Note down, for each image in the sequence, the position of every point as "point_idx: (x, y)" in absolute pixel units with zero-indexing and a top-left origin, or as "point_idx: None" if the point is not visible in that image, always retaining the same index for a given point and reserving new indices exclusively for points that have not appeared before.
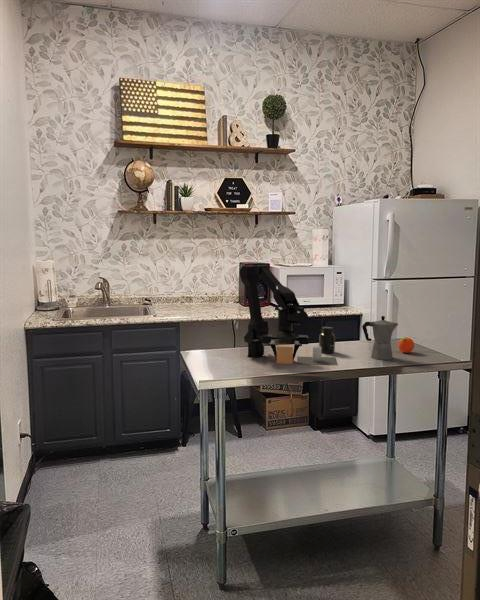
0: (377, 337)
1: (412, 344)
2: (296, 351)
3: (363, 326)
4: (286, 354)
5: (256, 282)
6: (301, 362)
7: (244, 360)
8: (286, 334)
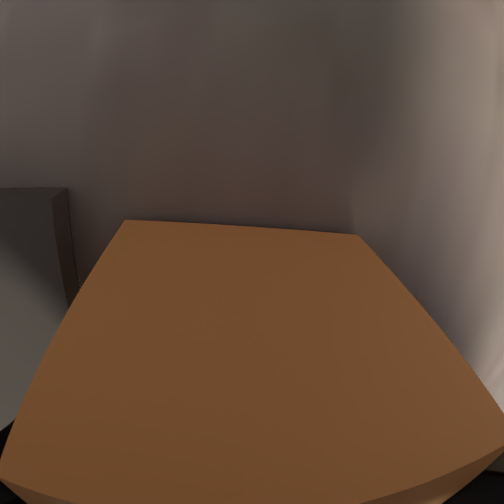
0: None
1: None
2: (9, 426)
3: None
4: (224, 342)
5: None
6: (21, 299)
7: (500, 366)
8: None
